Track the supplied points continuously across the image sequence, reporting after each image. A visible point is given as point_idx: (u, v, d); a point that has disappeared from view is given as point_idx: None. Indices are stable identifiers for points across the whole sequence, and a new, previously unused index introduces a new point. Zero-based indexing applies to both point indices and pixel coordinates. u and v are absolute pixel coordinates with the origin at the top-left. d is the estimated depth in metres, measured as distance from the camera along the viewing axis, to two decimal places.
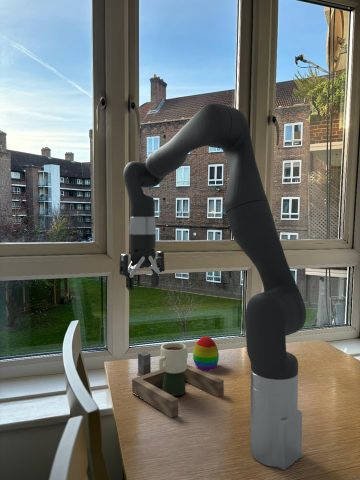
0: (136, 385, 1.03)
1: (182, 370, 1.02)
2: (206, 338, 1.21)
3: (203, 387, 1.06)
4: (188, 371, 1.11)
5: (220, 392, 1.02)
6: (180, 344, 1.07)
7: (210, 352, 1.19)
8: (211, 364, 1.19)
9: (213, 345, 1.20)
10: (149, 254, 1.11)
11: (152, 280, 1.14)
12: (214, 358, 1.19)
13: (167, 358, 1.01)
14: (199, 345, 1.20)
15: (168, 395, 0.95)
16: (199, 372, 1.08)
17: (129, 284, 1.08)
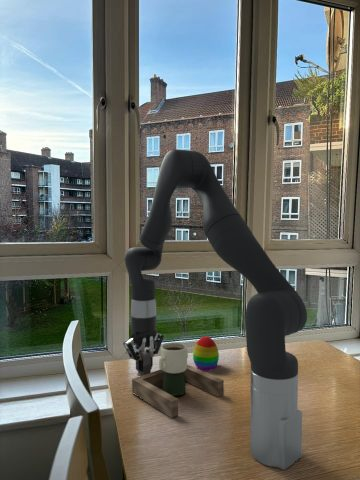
0: (136, 385, 1.03)
1: (182, 370, 1.02)
2: (206, 338, 1.21)
3: (203, 387, 1.06)
4: (188, 371, 1.11)
5: (220, 392, 1.02)
6: (180, 344, 1.07)
7: (210, 352, 1.19)
8: (211, 364, 1.19)
9: (213, 345, 1.20)
10: (150, 334, 1.15)
11: None
12: (214, 358, 1.19)
13: (167, 358, 1.01)
14: (199, 345, 1.20)
15: (168, 395, 0.95)
16: (199, 372, 1.08)
17: (139, 367, 1.13)
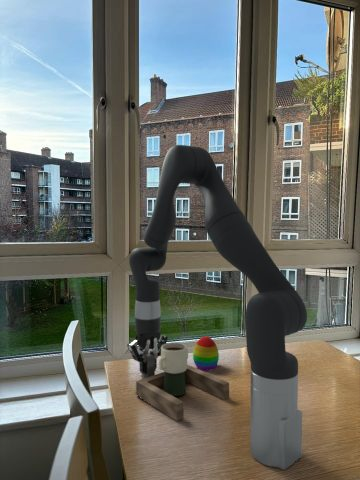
0: (140, 388, 1.01)
1: (182, 370, 1.02)
2: (206, 338, 1.21)
3: (208, 389, 1.05)
4: (193, 373, 1.09)
5: (226, 395, 1.01)
6: (180, 344, 1.07)
7: (210, 352, 1.19)
8: (211, 364, 1.19)
9: (213, 345, 1.20)
10: (154, 335, 1.14)
11: None
12: (214, 358, 1.19)
13: (167, 358, 1.01)
14: (199, 345, 1.20)
15: (173, 398, 0.93)
16: (204, 374, 1.07)
17: (143, 369, 1.12)
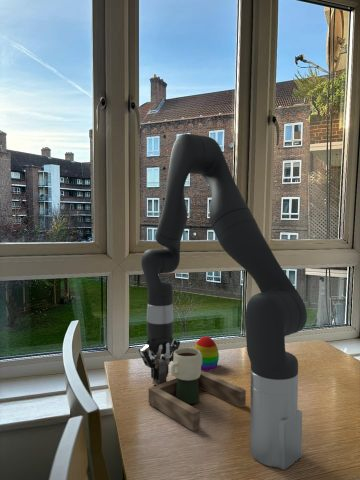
0: (153, 395, 0.97)
1: (195, 377, 0.97)
2: (206, 338, 1.21)
3: (223, 397, 1.01)
4: (207, 379, 1.05)
5: (242, 402, 0.97)
6: (194, 350, 1.02)
7: (210, 352, 1.19)
8: (211, 364, 1.19)
9: (213, 345, 1.20)
10: (166, 340, 1.09)
11: None
12: (214, 358, 1.19)
13: (180, 364, 0.97)
14: (199, 345, 1.20)
15: (189, 406, 0.89)
16: (219, 381, 1.03)
17: (154, 375, 1.08)
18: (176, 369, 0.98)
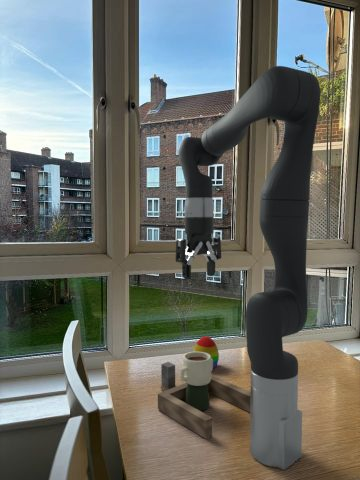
0: (163, 401, 0.94)
1: (205, 382, 0.94)
2: (206, 338, 1.21)
3: (235, 402, 0.98)
4: (217, 384, 1.02)
5: None
6: (204, 354, 0.99)
7: (210, 352, 1.19)
8: None
9: (213, 345, 1.20)
10: (206, 239, 1.01)
11: (208, 269, 1.04)
12: (214, 358, 1.19)
13: (189, 369, 0.94)
14: (199, 345, 1.20)
15: (200, 413, 0.86)
16: (230, 385, 1.00)
17: (186, 272, 0.97)
18: (185, 374, 0.95)
